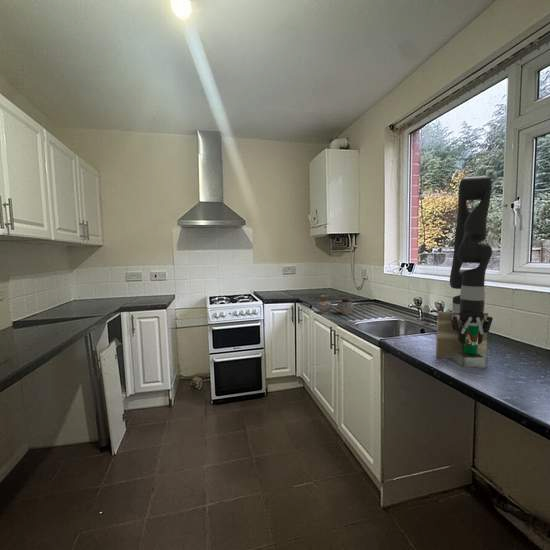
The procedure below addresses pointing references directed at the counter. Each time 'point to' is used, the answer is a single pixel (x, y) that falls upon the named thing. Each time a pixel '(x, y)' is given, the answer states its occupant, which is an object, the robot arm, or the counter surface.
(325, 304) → the pottery
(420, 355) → the counter surface
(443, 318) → the wall board
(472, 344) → the soda can
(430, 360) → the counter surface
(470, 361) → the can holder
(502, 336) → the counter surface
